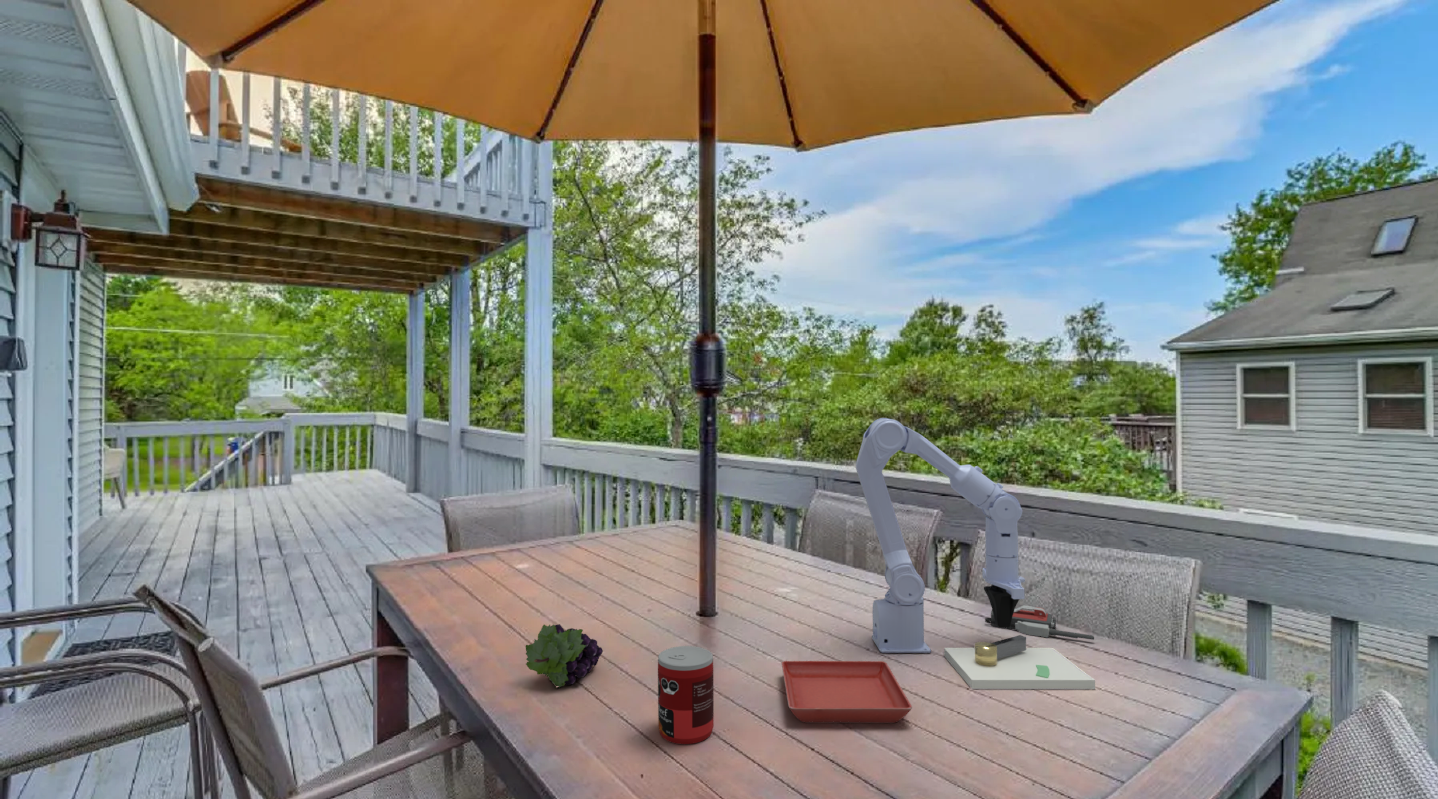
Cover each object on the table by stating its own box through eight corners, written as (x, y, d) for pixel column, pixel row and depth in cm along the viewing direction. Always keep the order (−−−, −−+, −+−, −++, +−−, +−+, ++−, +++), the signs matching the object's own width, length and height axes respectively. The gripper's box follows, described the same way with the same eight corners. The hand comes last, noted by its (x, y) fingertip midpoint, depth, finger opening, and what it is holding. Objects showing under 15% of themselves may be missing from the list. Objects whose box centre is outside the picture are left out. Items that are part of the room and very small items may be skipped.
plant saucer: (780, 678, 113) (780, 659, 113) (885, 678, 112) (885, 659, 112) (789, 730, 94) (788, 708, 95) (914, 731, 94) (914, 708, 94)
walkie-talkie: (983, 630, 135) (1094, 647, 126) (983, 608, 135) (1094, 624, 126) (988, 617, 143) (1093, 632, 133) (988, 597, 143) (1093, 611, 133)
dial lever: (987, 666, 111) (987, 651, 111) (970, 659, 114) (970, 644, 114) (1032, 653, 117) (1031, 638, 117) (1014, 647, 120) (1014, 632, 120)
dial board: (971, 689, 107) (971, 678, 107) (944, 655, 121) (944, 646, 121) (1095, 689, 106) (1095, 678, 106) (1053, 655, 120) (1052, 646, 120)
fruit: (606, 688, 115) (553, 700, 102) (560, 667, 120) (504, 677, 107) (622, 630, 117) (571, 635, 104) (576, 612, 122) (523, 615, 109)
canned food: (658, 720, 97) (657, 646, 97) (711, 717, 98) (711, 644, 98) (657, 747, 90) (657, 667, 90) (715, 744, 90) (715, 664, 90)
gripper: (1041, 563, 116) (1042, 639, 116) (1006, 545, 131) (1008, 613, 131) (1001, 564, 116) (1002, 640, 116) (971, 546, 131) (972, 613, 131)
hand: (1002, 626), depth 124 cm, fingers closed
